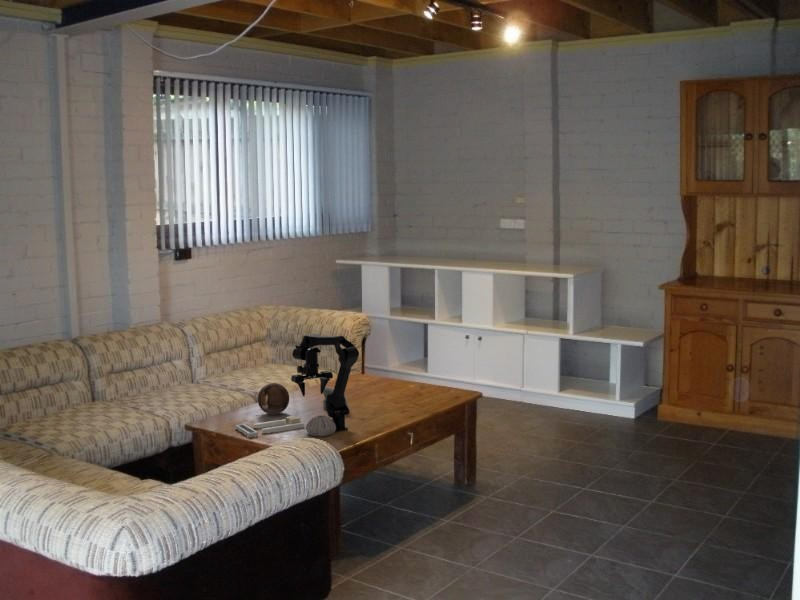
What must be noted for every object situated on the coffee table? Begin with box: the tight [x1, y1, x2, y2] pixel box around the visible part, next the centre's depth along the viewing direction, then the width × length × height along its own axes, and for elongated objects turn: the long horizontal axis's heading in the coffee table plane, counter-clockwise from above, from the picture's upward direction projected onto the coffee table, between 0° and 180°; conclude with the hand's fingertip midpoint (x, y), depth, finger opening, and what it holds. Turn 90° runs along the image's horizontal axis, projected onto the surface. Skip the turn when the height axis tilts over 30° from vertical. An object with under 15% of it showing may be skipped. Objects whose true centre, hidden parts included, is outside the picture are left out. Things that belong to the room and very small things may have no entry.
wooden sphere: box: [257, 382, 290, 416], centre depth 430 cm, size 15×15×15 cm
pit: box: [235, 423, 259, 438], centre depth 399 cm, size 16×4×2 cm, turn 31°
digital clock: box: [322, 386, 350, 410], centre depth 439 cm, size 16×9×11 cm, turn 29°
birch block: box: [285, 415, 301, 425], centre depth 410 cm, size 5×5×4 cm
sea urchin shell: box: [305, 415, 336, 438], centre depth 397 cm, size 13×14×8 cm
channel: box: [252, 418, 305, 434], centre depth 407 cm, size 11×20×2 cm, turn 121°
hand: (312, 395), depth 414 cm, fingers open, 9 cm apart
